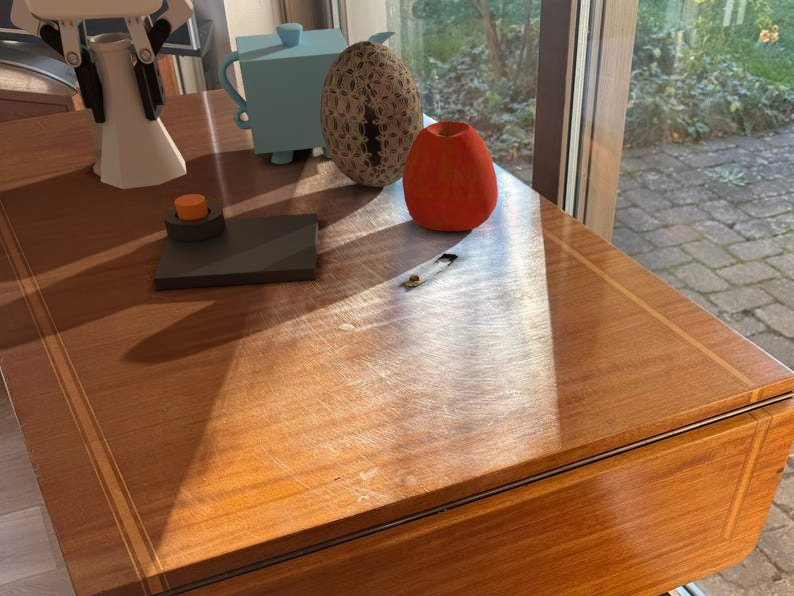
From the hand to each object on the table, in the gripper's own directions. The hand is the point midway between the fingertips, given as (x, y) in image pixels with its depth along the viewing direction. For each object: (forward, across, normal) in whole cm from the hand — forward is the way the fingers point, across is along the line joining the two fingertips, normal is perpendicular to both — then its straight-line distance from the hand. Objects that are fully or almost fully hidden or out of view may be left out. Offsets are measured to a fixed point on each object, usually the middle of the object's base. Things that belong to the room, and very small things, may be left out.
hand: (128, 114), depth 78 cm
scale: (+19, -3, -17) cm, 26 cm away
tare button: (+17, +2, -22) cm, 27 cm away
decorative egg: (+19, -18, -35) cm, 44 cm away
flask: (+5, 0, 0) cm, 5 cm away
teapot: (+19, -10, -49) cm, 54 cm away
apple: (+19, -26, -23) cm, 40 cm away
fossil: (+20, -24, -11) cm, 33 cm away
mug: (+19, +14, -48) cm, 54 cm away
